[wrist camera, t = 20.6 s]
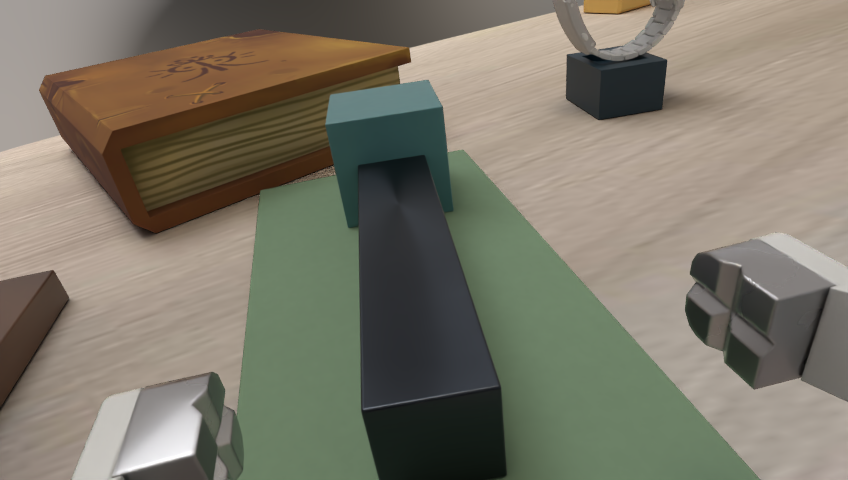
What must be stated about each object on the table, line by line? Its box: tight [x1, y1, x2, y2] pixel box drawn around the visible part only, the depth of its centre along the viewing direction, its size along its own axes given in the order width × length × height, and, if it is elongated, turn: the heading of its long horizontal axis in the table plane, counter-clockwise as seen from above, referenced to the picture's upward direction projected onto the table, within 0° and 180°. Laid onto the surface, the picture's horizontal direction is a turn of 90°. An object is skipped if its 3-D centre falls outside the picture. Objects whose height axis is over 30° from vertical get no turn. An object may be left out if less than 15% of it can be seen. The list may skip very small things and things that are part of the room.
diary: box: [39, 29, 411, 233], centre depth 38 cm, size 23×19×6 cm
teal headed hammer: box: [325, 80, 507, 480], centre depth 20 cm, size 5×19×5 cm, turn 6°
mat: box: [237, 150, 760, 480], centre depth 21 cm, size 24×12×1 cm, turn 13°
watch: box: [553, 0, 685, 120], centre depth 34 cm, size 6×8×11 cm
